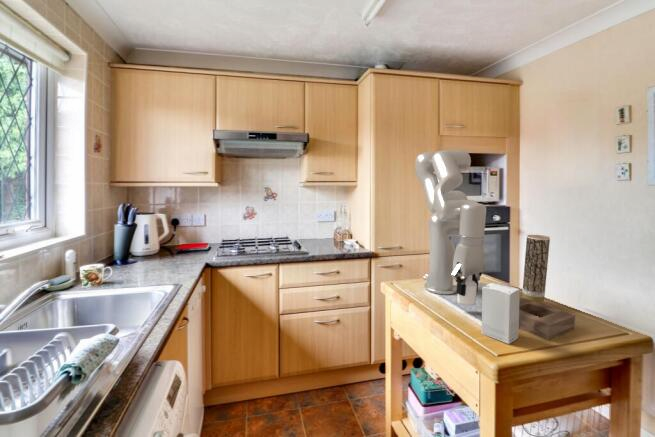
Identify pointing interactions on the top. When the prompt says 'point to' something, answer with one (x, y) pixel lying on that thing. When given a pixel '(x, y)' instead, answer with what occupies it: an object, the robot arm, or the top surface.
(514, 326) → the skincare box
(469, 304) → the eye dropper bottle
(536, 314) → the dropper stand
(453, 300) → the top surface
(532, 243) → the bark textured log
